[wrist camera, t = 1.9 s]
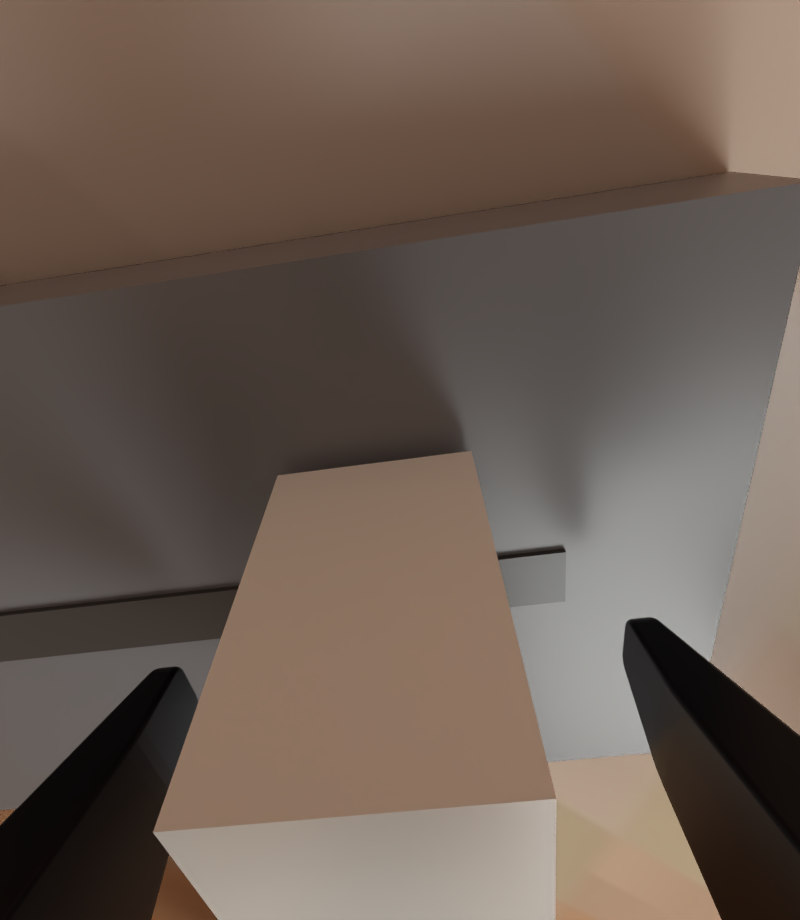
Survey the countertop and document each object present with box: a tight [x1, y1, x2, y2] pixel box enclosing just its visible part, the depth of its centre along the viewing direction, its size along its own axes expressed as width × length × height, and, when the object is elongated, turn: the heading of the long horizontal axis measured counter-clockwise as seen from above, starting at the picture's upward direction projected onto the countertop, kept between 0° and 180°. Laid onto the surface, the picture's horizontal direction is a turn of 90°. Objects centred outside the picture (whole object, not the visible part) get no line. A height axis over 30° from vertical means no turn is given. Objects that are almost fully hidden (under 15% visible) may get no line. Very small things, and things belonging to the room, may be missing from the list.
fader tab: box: [153, 451, 556, 920], centre depth 8 cm, size 6×3×5 cm, turn 8°
